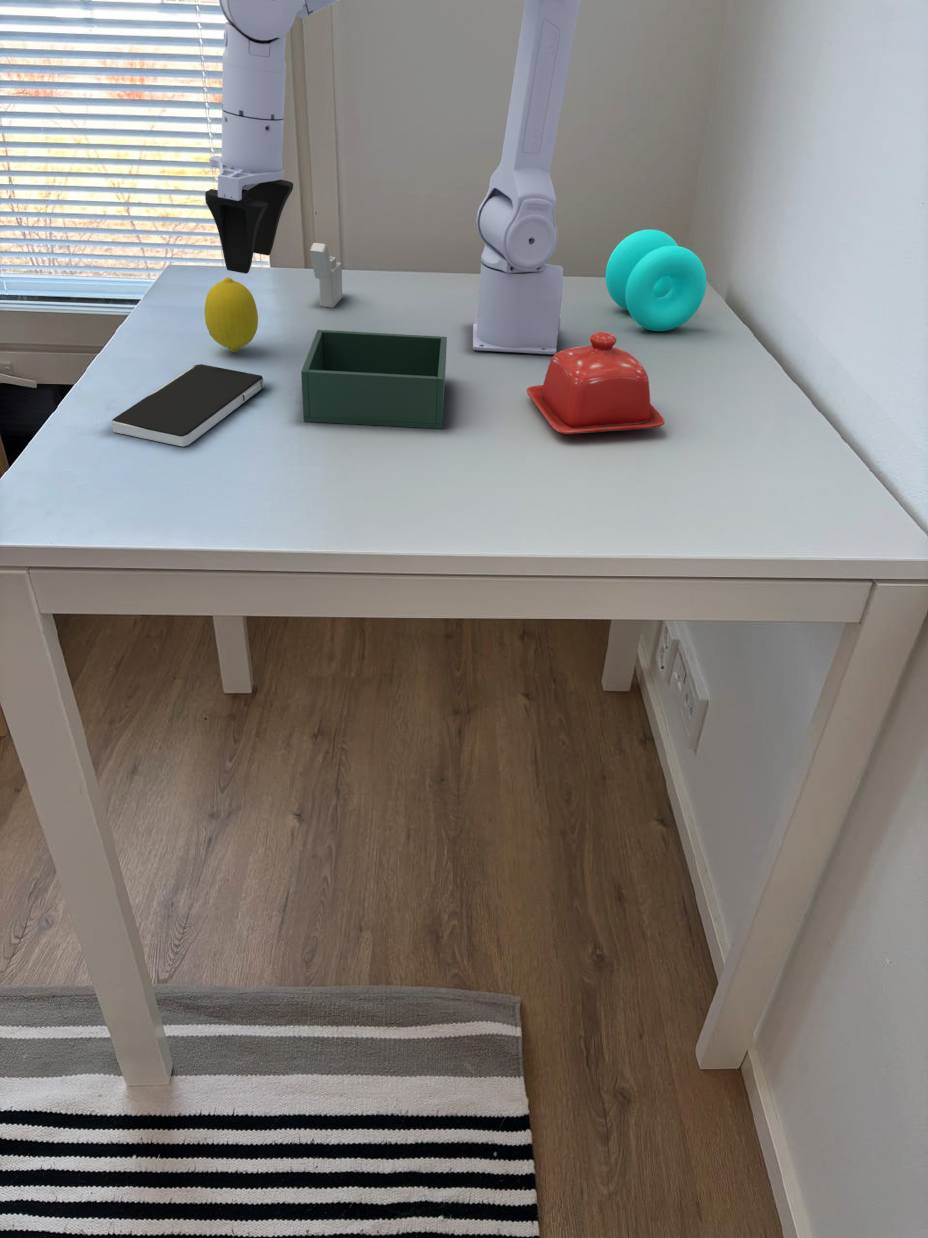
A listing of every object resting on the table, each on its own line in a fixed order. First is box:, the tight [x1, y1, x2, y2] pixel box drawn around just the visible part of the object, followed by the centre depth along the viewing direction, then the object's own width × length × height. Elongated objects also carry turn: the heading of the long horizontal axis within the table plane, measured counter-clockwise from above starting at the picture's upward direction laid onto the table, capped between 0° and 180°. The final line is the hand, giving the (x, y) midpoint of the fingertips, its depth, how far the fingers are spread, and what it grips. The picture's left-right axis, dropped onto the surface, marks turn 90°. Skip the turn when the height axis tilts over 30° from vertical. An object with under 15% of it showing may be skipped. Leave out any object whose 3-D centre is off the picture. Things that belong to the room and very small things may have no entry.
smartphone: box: [111, 363, 265, 447], centre depth 92 cm, size 8×1×15 cm
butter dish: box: [525, 331, 666, 435], centre depth 93 cm, size 12×12×8 cm
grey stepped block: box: [309, 242, 343, 309], centre depth 116 cm, size 7×2×8 cm, turn 169°
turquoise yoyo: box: [605, 229, 707, 332], centre depth 117 cm, size 10×10×10 cm
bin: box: [300, 329, 448, 430], centre depth 94 cm, size 13×11×5 cm
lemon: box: [203, 277, 259, 353], centre depth 102 cm, size 6×6×8 cm
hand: (249, 261), depth 98 cm, fingers open, 7 cm apart
